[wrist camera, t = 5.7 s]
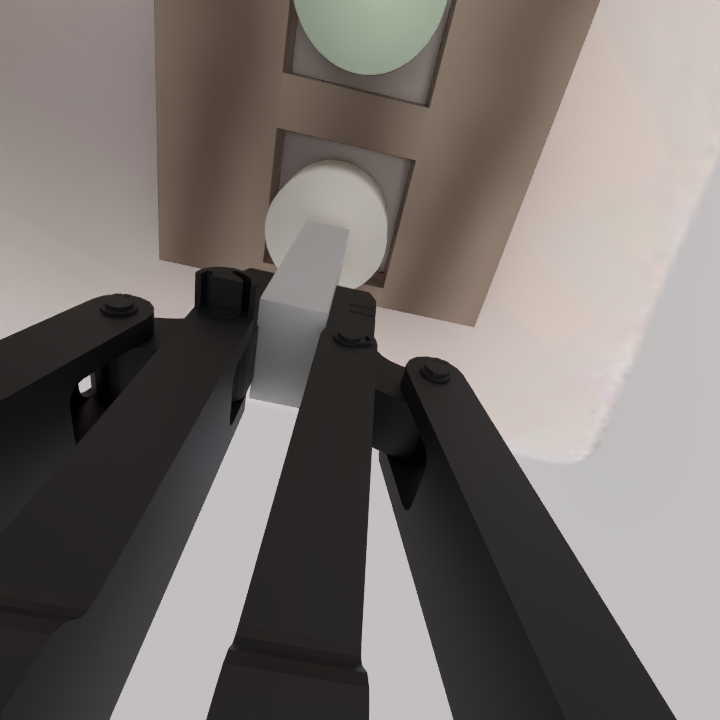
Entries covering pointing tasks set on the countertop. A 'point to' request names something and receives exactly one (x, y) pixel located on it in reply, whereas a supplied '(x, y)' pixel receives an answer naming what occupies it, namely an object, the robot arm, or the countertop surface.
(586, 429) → the countertop surface
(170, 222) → the wooden tray
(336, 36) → the sage button
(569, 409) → the countertop surface
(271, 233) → the cream button
